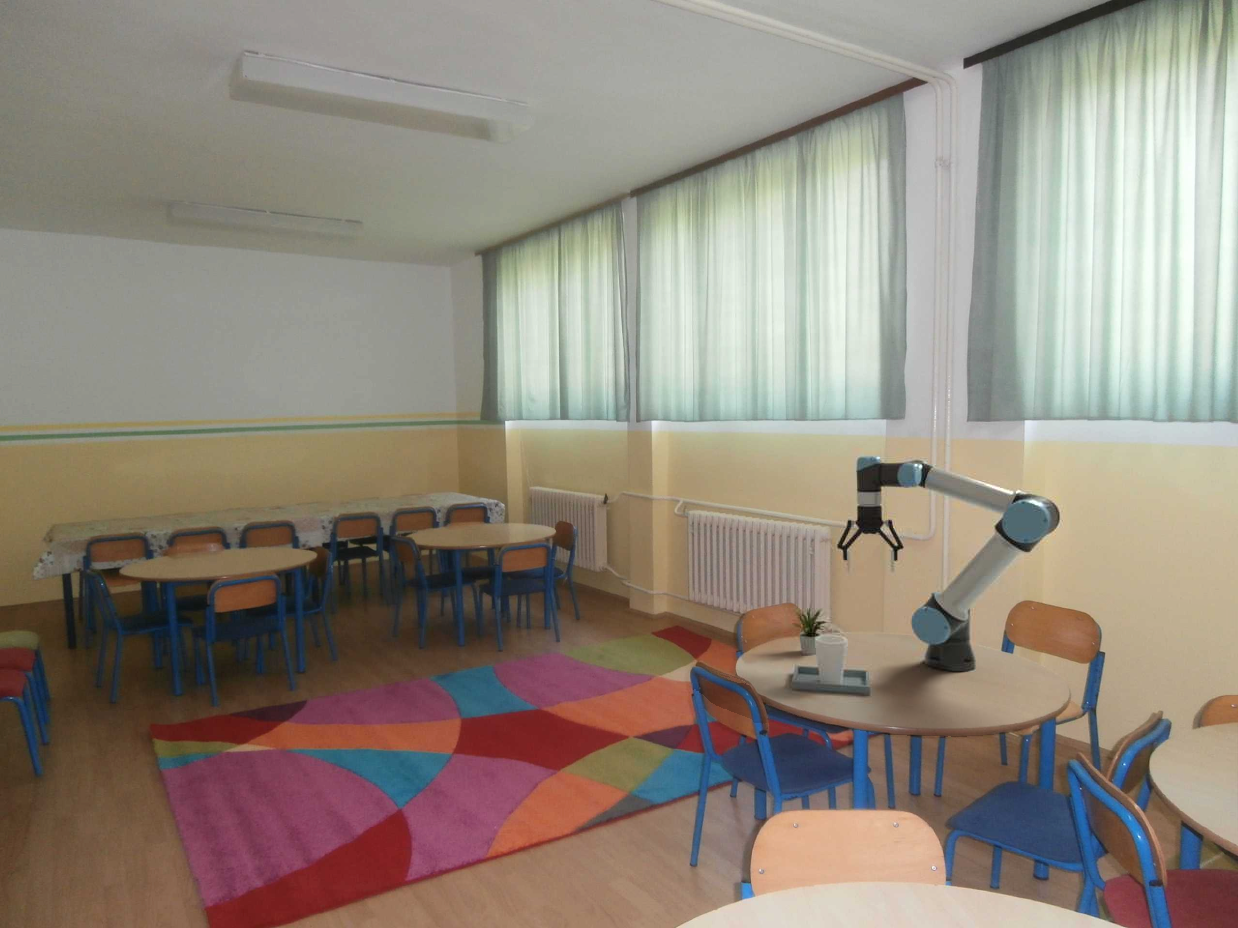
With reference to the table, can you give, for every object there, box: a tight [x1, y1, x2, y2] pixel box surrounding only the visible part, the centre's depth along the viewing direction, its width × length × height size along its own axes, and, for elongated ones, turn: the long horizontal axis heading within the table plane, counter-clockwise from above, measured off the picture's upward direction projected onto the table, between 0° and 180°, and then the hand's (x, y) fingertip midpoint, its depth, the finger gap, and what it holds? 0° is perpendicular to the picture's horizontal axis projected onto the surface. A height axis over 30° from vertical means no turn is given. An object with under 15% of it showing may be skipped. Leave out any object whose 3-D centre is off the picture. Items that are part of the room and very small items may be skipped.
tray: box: [791, 665, 871, 696], centre depth 249 cm, size 22×16×2 cm
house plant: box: [789, 604, 829, 656], centre depth 281 cm, size 14×14×16 cm
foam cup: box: [815, 634, 848, 684], centre depth 249 cm, size 10×9×13 cm
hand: (870, 570), depth 267 cm, fingers open, 13 cm apart
